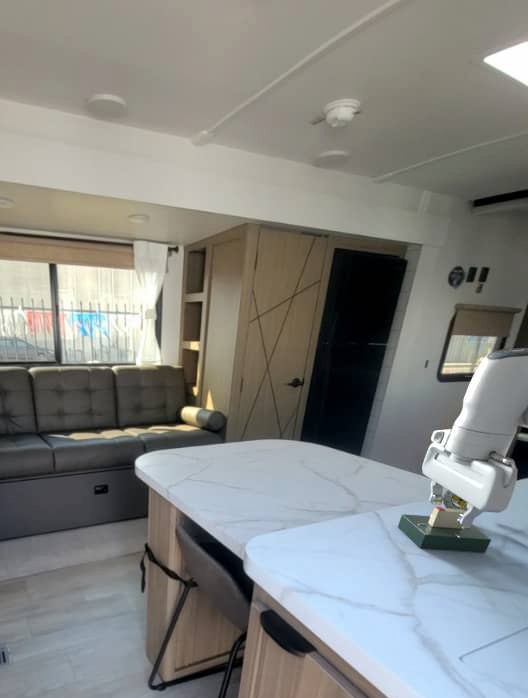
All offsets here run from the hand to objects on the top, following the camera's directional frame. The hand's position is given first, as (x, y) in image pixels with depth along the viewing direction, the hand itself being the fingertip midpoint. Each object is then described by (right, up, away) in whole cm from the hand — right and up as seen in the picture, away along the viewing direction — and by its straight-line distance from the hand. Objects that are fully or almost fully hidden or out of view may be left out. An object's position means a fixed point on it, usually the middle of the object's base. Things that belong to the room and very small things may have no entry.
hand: (448, 513), depth 79 cm
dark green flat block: (0, -5, +3) cm, 6 cm away
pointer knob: (0, -3, +1) cm, 3 cm away
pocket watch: (+9, -2, +11) cm, 15 cm away
